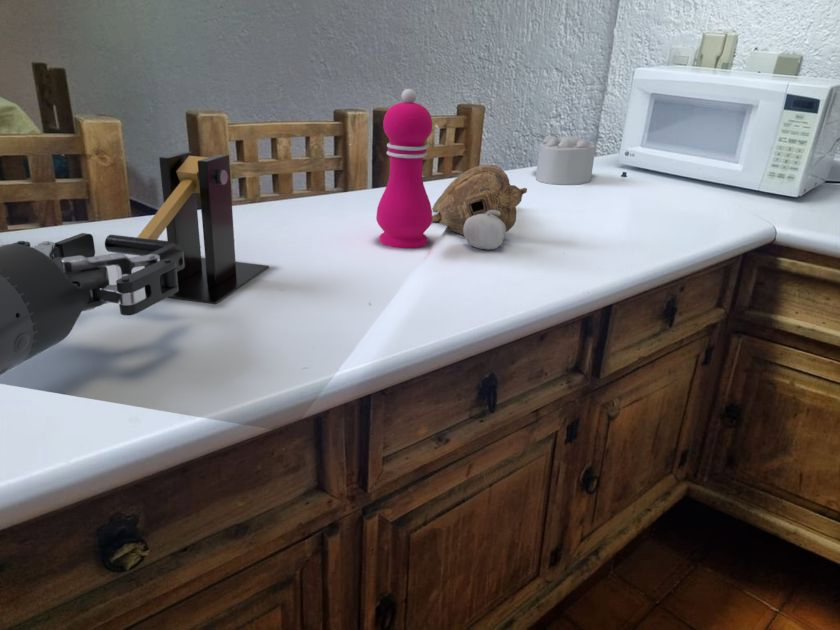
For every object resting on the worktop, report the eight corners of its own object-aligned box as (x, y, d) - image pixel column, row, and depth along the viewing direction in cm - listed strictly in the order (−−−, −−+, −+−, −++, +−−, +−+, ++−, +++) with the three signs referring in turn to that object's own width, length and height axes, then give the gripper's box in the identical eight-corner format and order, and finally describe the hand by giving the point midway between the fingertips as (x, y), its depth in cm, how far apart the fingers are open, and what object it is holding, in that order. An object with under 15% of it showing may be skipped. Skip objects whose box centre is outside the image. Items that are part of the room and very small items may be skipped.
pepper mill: (436, 245, 89) (445, 89, 81) (423, 260, 82) (431, 92, 75) (384, 239, 90) (389, 85, 83) (368, 253, 84) (371, 88, 76)
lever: (171, 266, 57) (162, 245, 55) (110, 259, 58) (99, 238, 57) (233, 179, 66) (227, 158, 64) (179, 174, 67) (171, 153, 65)
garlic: (512, 247, 90) (516, 209, 88) (494, 256, 85) (498, 216, 83) (473, 239, 93) (476, 202, 91) (454, 247, 88) (457, 209, 86)
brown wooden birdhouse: (410, 189, 91) (514, 156, 86) (445, 161, 113) (530, 134, 108) (432, 256, 94) (534, 228, 89) (462, 216, 116) (546, 192, 111)
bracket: (216, 314, 63) (205, 169, 58) (132, 303, 65) (114, 161, 59) (269, 276, 74) (264, 151, 69) (196, 267, 76) (186, 145, 70)
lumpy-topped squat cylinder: (596, 179, 142) (602, 138, 139) (569, 187, 132) (575, 143, 129) (553, 172, 148) (557, 132, 144) (524, 179, 138) (529, 137, 135)
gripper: (66, 275, 39) (206, 215, 54) (-130, 249, 42) (55, 198, 57) (84, 386, 42) (212, 300, 57) (-100, 355, 45) (68, 281, 59)
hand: (133, 249), depth 57 cm, fingers open, 8 cm apart
